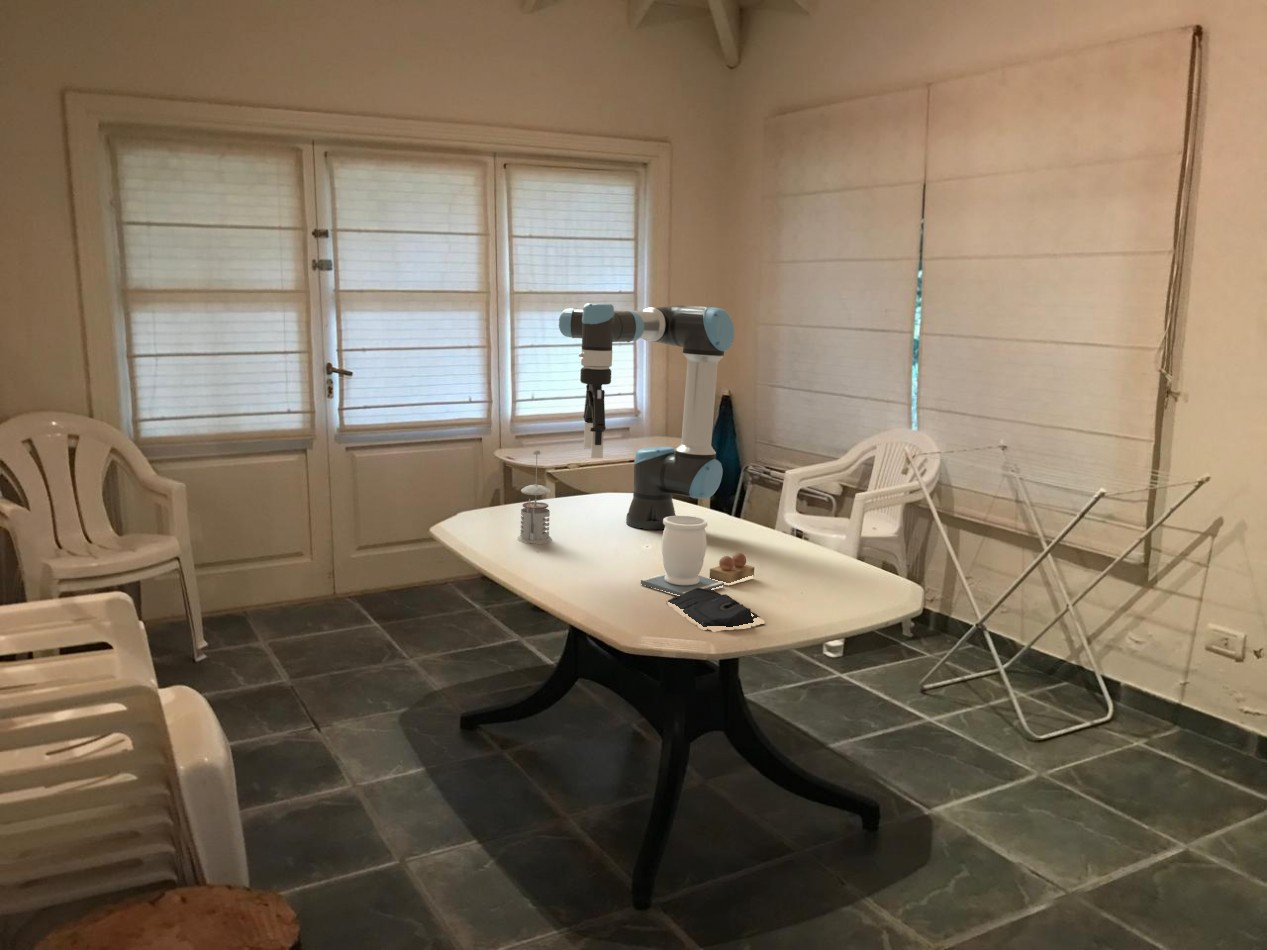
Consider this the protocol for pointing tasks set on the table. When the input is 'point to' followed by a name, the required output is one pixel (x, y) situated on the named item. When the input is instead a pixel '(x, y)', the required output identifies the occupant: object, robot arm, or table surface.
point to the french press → (535, 515)
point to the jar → (683, 549)
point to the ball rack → (732, 569)
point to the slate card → (661, 584)
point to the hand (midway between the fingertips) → (592, 453)
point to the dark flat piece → (713, 608)
